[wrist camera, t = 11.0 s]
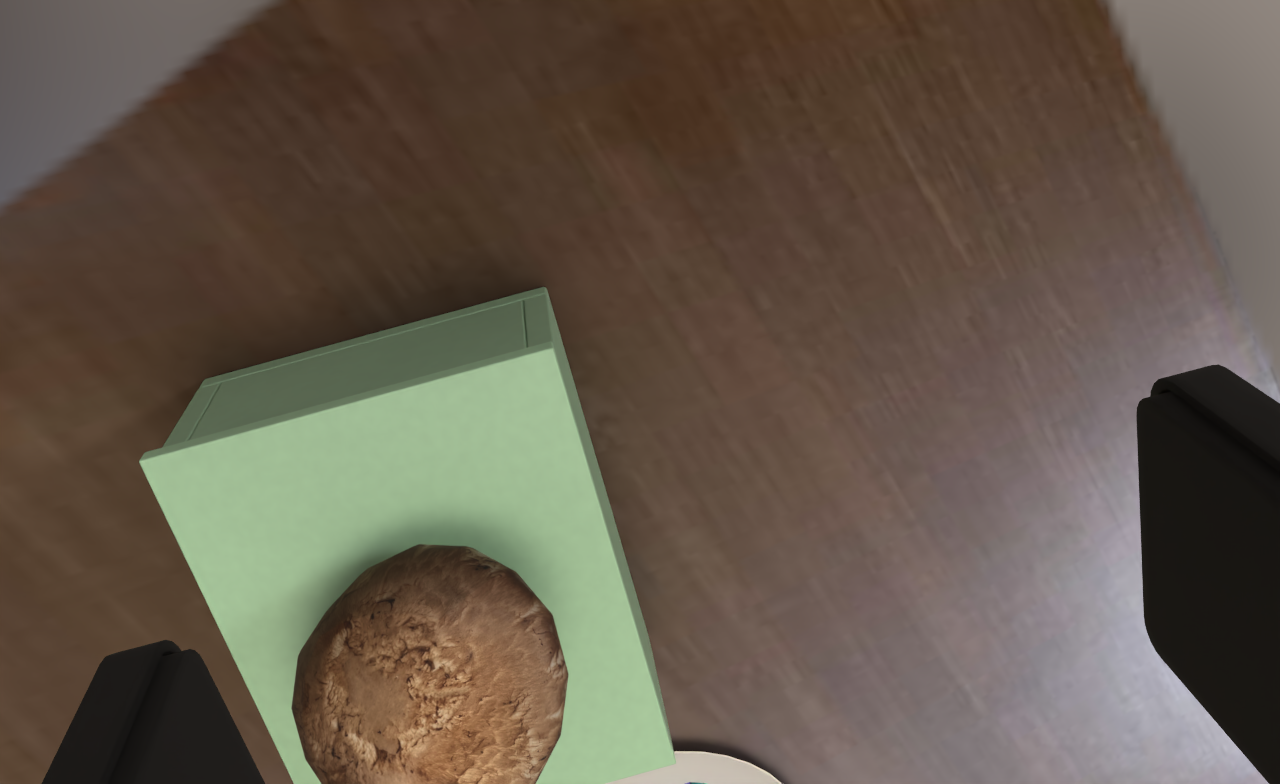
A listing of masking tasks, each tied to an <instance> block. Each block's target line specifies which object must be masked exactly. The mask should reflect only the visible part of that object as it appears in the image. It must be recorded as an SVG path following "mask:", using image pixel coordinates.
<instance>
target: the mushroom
mask: <svg viewBox="0 0 1280 784" xmlns="http://www.w3.org/2000/svg"><path fill="white" fill-rule="evenodd" d="M568 675H569V674H568V670H567V666H566V663H565V659H564V655H563V651H562V648H561V644H560V640H559V637H558V633H557V629H556V625H555V622H554V618H553V615H552V613H551V612H550V611H549V610H548V609H547V607H546V606H545V605H544V604H543V603H542V602H541V600H540V599H539V598H538V597H537V596H536V595H535V593H534V592H533V591H532V590H531V589H530V587H529V586H528V585H527V584H526V583H525V582H524V580H523V579H522V578H521V577H520V576H519V574H518V573H517V572H516V571H514V570H512V569H510V568H508V567H507V566H505V565H503V564H501V563H499V562H498V561H496V560H494V559H492V558H490V557H488V556H487V555H485V554H483V553H481V552H479V551H478V550H476V549H474V548H471V547H467V546H449V545H426V544H418V545H416V546H413V547H411V548H409V549H407V550H405V551H402V552H400V553H398V554H396V555H394V556H392V557H390V558H388V559H386V560H384V561H382V562H380V563H377V564H375V565H373V566H371V567H369V568H367V569H366V570H365V571H364V572H363V573H362V574H360V575H359V576H358V577H357V579H356V580H355V581H354V582H353V583H352V584H351V585H350V586H349V587H348V588H347V589H346V590H345V591H344V592H343V594H342V595H341V596H340V597H339V598H338V599H337V600H336V601H335V602H334V603H333V604H332V605H331V606H330V607H329V609H328V610H327V611H326V613H325V614H324V615H323V617H322V618H321V620H320V621H319V623H318V625H317V626H316V628H315V629H314V631H313V632H312V634H311V635H310V637H309V638H308V640H307V641H306V643H305V645H304V646H303V648H302V649H301V651H300V653H299V655H298V659H297V667H296V675H295V683H294V691H293V700H292V708H291V709H292V713H293V716H294V720H295V724H296V727H297V731H298V734H299V738H300V742H301V745H302V749H303V753H304V756H305V759H306V761H307V762H308V764H309V765H310V767H311V769H312V770H313V772H314V773H315V775H316V776H317V778H318V779H319V781H320V782H321V784H536V782H537V780H538V778H539V776H540V774H541V773H542V771H543V769H544V767H545V765H546V763H547V761H548V759H549V757H550V755H551V753H552V751H553V749H554V748H555V746H556V744H557V742H558V740H559V738H560V736H561V730H562V722H563V714H564V707H565V699H566V691H567V683H568Z"/></svg>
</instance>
